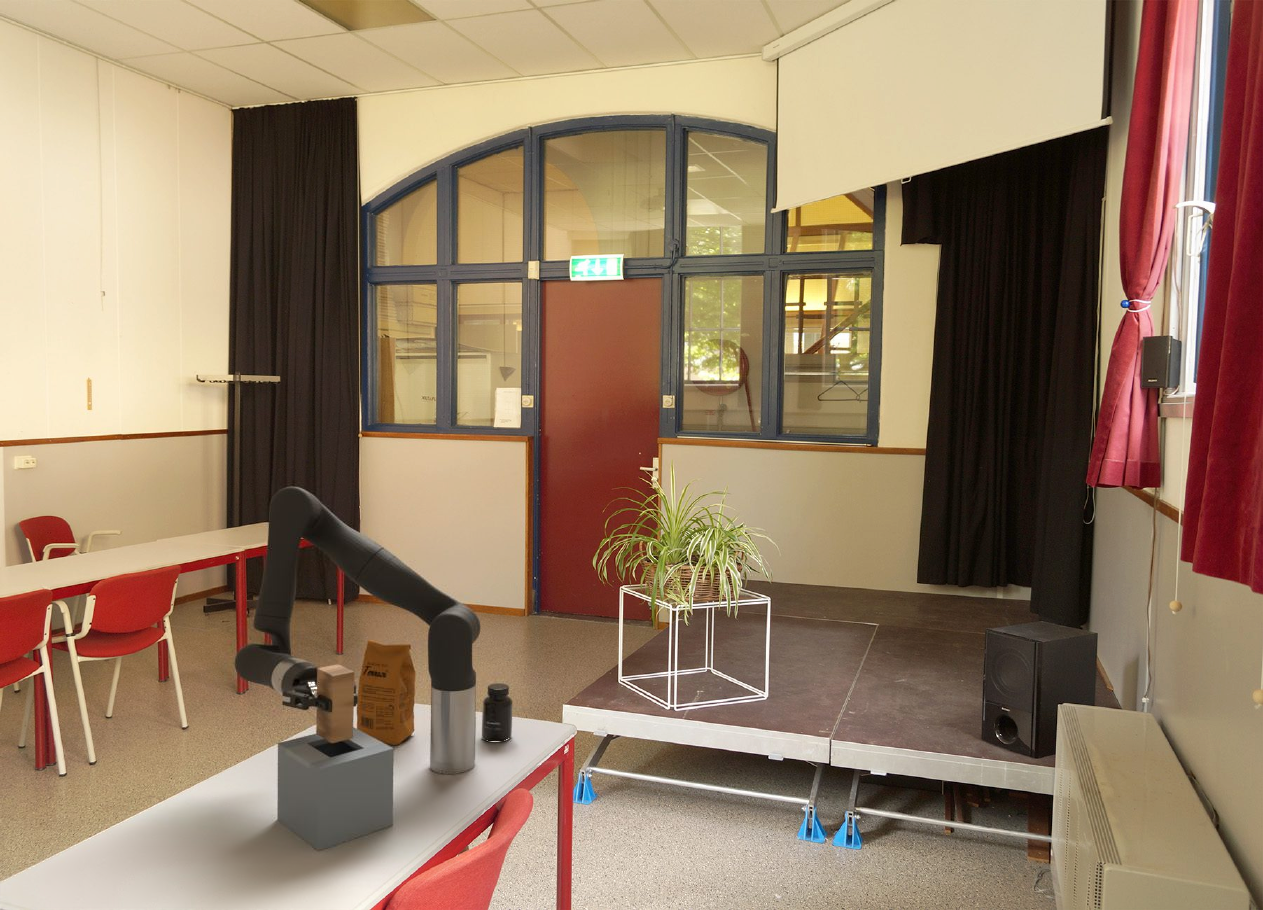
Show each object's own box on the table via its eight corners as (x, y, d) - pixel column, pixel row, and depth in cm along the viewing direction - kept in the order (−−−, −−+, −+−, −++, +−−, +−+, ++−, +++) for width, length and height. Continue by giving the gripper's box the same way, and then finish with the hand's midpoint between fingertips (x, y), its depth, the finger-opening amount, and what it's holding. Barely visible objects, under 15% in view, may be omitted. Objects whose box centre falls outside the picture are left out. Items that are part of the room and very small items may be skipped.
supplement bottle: (487, 745, 200) (488, 692, 199) (477, 735, 206) (478, 683, 205) (516, 740, 203) (517, 688, 202) (506, 730, 209) (507, 680, 208)
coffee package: (375, 726, 210) (376, 633, 209) (420, 733, 206) (422, 639, 205) (348, 740, 200) (349, 643, 200) (395, 748, 196) (396, 649, 195)
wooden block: (316, 733, 161) (317, 668, 160) (337, 728, 164) (338, 664, 163) (331, 743, 157) (333, 675, 156) (353, 737, 159) (354, 671, 159)
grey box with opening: (277, 819, 161) (277, 743, 161) (349, 796, 171) (349, 725, 171) (318, 850, 150) (319, 769, 150) (392, 825, 160) (393, 748, 160)
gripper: (262, 668, 165) (304, 691, 153) (335, 655, 175) (379, 675, 163) (262, 708, 165) (304, 734, 153) (334, 693, 175) (379, 716, 163)
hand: (342, 703), depth 158 cm, fingers closed on wooden block, 4 cm apart
